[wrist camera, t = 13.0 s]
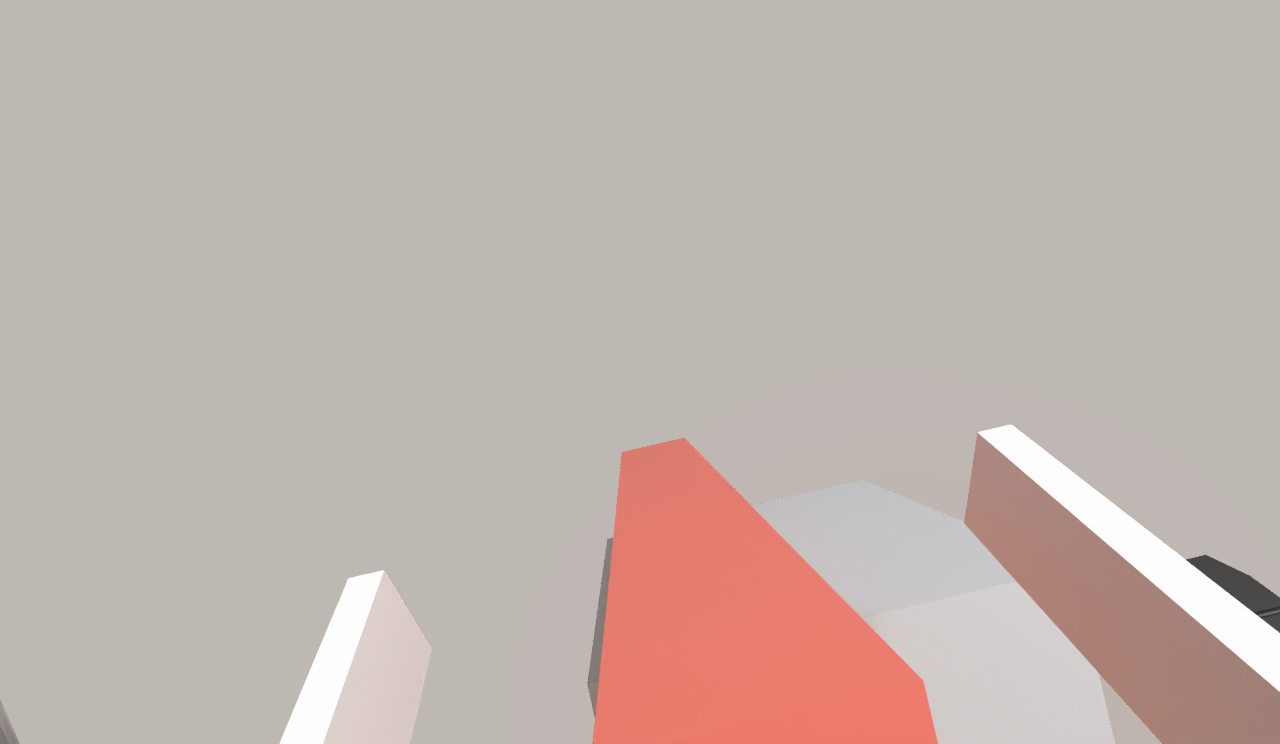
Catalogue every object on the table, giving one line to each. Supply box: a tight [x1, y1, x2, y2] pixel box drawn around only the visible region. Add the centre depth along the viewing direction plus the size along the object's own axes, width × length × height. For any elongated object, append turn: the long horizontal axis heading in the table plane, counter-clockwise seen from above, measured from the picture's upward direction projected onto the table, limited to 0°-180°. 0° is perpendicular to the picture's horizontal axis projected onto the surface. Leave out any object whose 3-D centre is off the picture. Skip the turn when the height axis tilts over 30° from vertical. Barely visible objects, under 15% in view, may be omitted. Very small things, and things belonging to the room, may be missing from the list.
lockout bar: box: [593, 438, 938, 744], centre depth 20 cm, size 28×4×4 cm, turn 1°
